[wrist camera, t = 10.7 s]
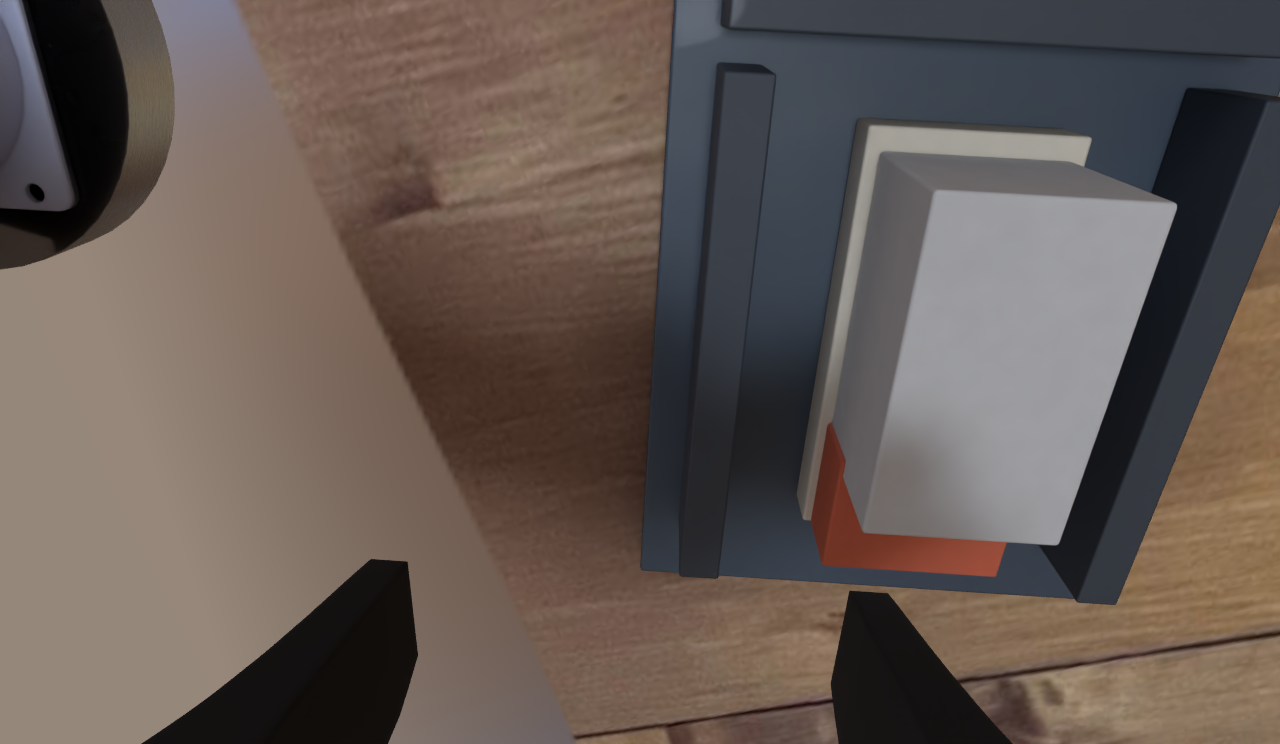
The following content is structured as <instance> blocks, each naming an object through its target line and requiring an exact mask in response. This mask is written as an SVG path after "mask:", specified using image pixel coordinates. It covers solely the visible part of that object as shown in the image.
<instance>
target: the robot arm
mask: <svg viewBox="0 0 1280 744" xmlns="http://www.w3.org/2000/svg"><path fill="white" fill-rule="evenodd" d="M36 185H38V186H39V187H40V188H42V190H43V192H44V198H43V197H42V196H40V195H39V194H38V192H37V190H36ZM78 201H79V191H78V187H77V183H76V179H75V176H74V172H73V168H72V165H71V161H70V157H69V153H68V150H67V146H66V142H65V138H64V135H63V131H62V127H61V124H60V120H59V116H58V112H57V109H56V105H55V101H54V97H53V94H52V90H51V86H50V83H49V79H48V75H47V71H46V68H45V64H44V60H43V56H42V53H41V49H40V45H39V41H38V38H37V34H36V30H35V27H34V23H33V19H32V15H31V12H30V8H29V4H28V0H0V208H9V209H26V210H44V211H65V210H68V209H71V208H73V207H75V206H76V205H77V204H78ZM417 657H418V651H417V642H416V633H415V624H414V617H413V607H412V598H411V589H410V580H409V571H408V562H405V561H390V560H375V559H371V560H369V561H368V562H367V563H366V564H365V565H364V566H362V567H361V568H360V569H359V570H358V571H357V572H356V573H355V574H353V575H352V576H351V577H350V578H349V579H348V580H347V581H345V582H344V583H343V584H342V585H341V586H340V587H339V588H338V589H337V590H336V591H334V592H333V593H332V594H331V595H330V596H329V597H328V598H327V599H326V600H325V601H323V602H322V604H320V605H319V606H318V607H317V608H316V609H314V610H313V611H312V612H311V613H310V614H309V615H308V616H307V617H306V618H304V619H303V620H302V621H301V622H300V623H299V624H298V625H296V626H295V627H294V628H293V629H292V630H291V631H289V632H288V633H287V634H286V635H285V636H284V637H282V638H281V639H280V640H279V641H278V642H277V643H276V644H274V645H273V646H272V647H271V648H270V649H269V650H267V651H266V652H265V653H264V654H263V655H261V656H260V657H259V658H258V659H256V660H255V661H254V662H253V663H251V664H250V665H249V666H248V667H246V668H245V669H244V670H243V671H241V672H240V673H239V674H237V675H236V676H235V677H234V678H233V679H231V680H230V681H229V682H227V683H226V684H225V685H224V686H222V687H221V688H220V689H219V690H217V691H216V692H215V693H213V694H212V695H211V696H210V697H208V698H207V699H205V700H204V701H203V702H201V703H200V704H199V705H197V706H196V707H194V708H193V709H192V710H190V711H189V712H187V713H186V714H185V715H183V716H182V717H180V718H179V719H177V720H176V721H175V722H173V723H171V724H170V725H169V726H167V727H166V728H164V729H163V730H161V731H160V732H158V733H157V734H155V735H154V736H152V737H151V738H150V739H148V740H146V741H145V742H143V743H142V744H388V742H389V740H390V737H391V735H392V733H393V730H394V728H395V725H396V723H397V721H398V718H399V716H400V713H401V710H402V707H403V704H404V700H405V697H406V694H407V691H408V688H409V684H410V681H411V677H412V674H413V670H414V667H415V663H416V660H417ZM831 690H832V698H833V706H834V713H835V721H836V728H837V734H838V741H839V744H1012V743H1011V742H1010V741H1009V739H1008V738H1007V737H1006V736H1005V735H1004V734H1003V733H1002V732H1001V731H1000V730H999V729H998V728H997V726H996V725H995V724H994V723H993V722H992V721H991V720H990V719H989V717H988V716H987V715H986V714H985V713H984V712H983V711H982V710H981V708H980V707H979V706H978V705H977V704H976V702H975V701H974V700H973V699H972V698H971V697H970V695H969V694H968V693H967V692H966V691H965V689H964V688H963V687H962V686H961V685H960V684H959V682H958V681H957V680H956V679H955V678H954V676H953V675H952V674H951V673H950V672H949V670H948V669H947V668H946V667H945V665H944V664H943V663H942V662H941V660H940V659H939V658H938V657H937V655H936V654H935V653H934V652H933V650H932V649H931V648H930V647H929V645H928V644H927V643H926V641H925V640H924V639H923V638H922V636H921V635H920V634H919V632H918V631H917V630H916V629H915V627H914V626H913V625H912V623H911V622H910V621H909V619H908V618H907V617H906V616H905V614H904V613H903V612H902V610H901V609H900V608H899V606H898V605H897V604H896V603H895V601H894V600H893V599H892V598H891V597H890V595H889V594H888V593H875V592H859V591H850V592H849V596H848V601H847V606H846V611H845V616H844V621H843V626H842V631H841V636H840V641H839V646H838V651H837V655H836V660H835V665H834V670H833V675H832V680H831Z"/></svg>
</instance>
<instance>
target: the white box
mask: <svg viewBox="0 0 1280 744" xmlns="http://www.w3.org/2000/svg"><path fill="white" fill-rule="evenodd" d="M1091 141H1092V138H1091V137H1089V136H1086V135H1083V134H1080V133H1077V132H1074V131H1070V130H1067V129H1057V128H1038V127H1020V126H1002V125H984V124H965V123H947V122H929V121H910V120H892V119H874V118H860V119H858V121H857V126H856V132H855V138H854V144H853V150H852V156H851V163H850V169H849V175H848V181H847V187H846V193H845V199H844V206H843V212H842V218H841V224H840V230H839V236H838V243H837V249H836V255H835V261H834V267H833V273H832V279H831V286H830V292H829V298H828V304H827V310H826V316H825V322H824V329H823V335H822V341H821V347H820V353H819V359H818V366H817V372H816V378H815V384H814V390H813V396H812V402H811V409H810V415H809V421H808V427H807V433H806V439H805V445H804V452H803V458H802V464H801V470H800V476H799V482H798V489H797V498H798V502H799V506H800V510H801V514H802V518H803V519H804V520H811V524H812V528H813V532H814V536H815V540H816V543H817V547H818V551H819V555H820V559H821V562H822V565H824V566H835V567H850V568H866V569H881V570H896V571H912V572H927V573H942V574H957V575H973V576H988V577H995V576H996V575H997V572H998V569H999V566H1000V562H1001V559H1002V556H1003V553H1004V550H1005V547H1006V543H1007V542H1009V543H1025V544H1040V545H1058V544H1059V542H1060V539H1061V537H1062V534H1063V531H1064V528H1065V525H1066V522H1067V520H1068V517H1069V514H1070V511H1071V508H1072V505H1073V502H1074V500H1075V497H1076V494H1077V491H1078V488H1079V485H1080V483H1081V480H1082V477H1083V474H1084V471H1085V468H1086V466H1087V463H1088V460H1089V457H1090V454H1091V451H1092V448H1093V446H1094V443H1095V440H1096V437H1097V434H1098V431H1099V429H1100V426H1101V423H1102V420H1103V417H1104V414H1105V412H1106V409H1107V406H1108V403H1109V400H1110V397H1111V395H1112V392H1113V389H1114V386H1115V383H1116V380H1117V377H1118V375H1119V372H1120V369H1121V366H1122V363H1123V360H1124V358H1125V355H1126V352H1127V349H1128V346H1129V343H1130V341H1131V338H1132V335H1133V332H1134V329H1135V326H1136V323H1137V321H1138V318H1139V315H1140V312H1141V309H1142V306H1143V304H1144V301H1145V298H1146V295H1147V292H1148V289H1149V287H1150V284H1151V281H1152V278H1153V275H1154V272H1155V269H1156V267H1157V264H1158V261H1159V258H1160V255H1161V252H1162V250H1163V247H1164V244H1165V241H1166V238H1167V235H1168V233H1169V230H1170V227H1171V224H1172V221H1173V218H1174V216H1175V213H1176V210H1177V204H1176V203H1174V202H1172V201H1169V200H1167V199H1164V198H1162V197H1159V196H1157V195H1154V194H1152V193H1149V192H1146V191H1144V190H1141V189H1139V188H1136V187H1134V186H1131V185H1129V184H1126V183H1124V182H1121V181H1118V180H1116V179H1113V178H1111V177H1108V176H1106V175H1103V174H1101V173H1098V172H1096V171H1093V170H1090V169H1088V168H1085V167H1084V165H1085V162H1086V158H1087V155H1088V152H1089V148H1090V145H1091Z"/></svg>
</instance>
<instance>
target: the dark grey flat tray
mask: <svg viewBox="0 0 1280 744" xmlns="http://www.w3.org/2000/svg"><path fill="white" fill-rule="evenodd" d="M1279 92H1280V0H674V13H673V30H672V47H671V63H670V80H669V97H668V113H667V130H666V147H665V163H664V180H663V197H662V213H661V230H660V247H659V264H658V280H657V297H656V314H655V330H654V347H653V364H652V380H651V397H650V414H649V430H648V447H647V464H646V480H645V497H644V514H643V530H642V547H641V564H640V568H641V570H643V571H659V572H674V573H679V575H680V576H683V577H698V578H713V579H717V578H718V576H735V577H750V578H765V579H780V580H795V581H810V582H826V583H841V584H856V585H871V586H886V587H902V588H917V589H932V590H947V591H962V592H978V593H993V594H1008V595H1023V596H1038V597H1054V598H1069V599H1075V600H1076V601H1077V602H1079V603H1093V604H1108V605H1115V604H1116V603H1117V601H1118V599H1119V596H1120V594H1121V591H1122V589H1123V586H1124V584H1125V581H1126V579H1127V577H1128V574H1129V572H1130V569H1131V567H1132V564H1133V562H1134V559H1135V557H1136V555H1137V552H1138V550H1139V547H1140V545H1141V542H1142V540H1143V537H1144V535H1145V533H1146V530H1147V528H1148V525H1149V523H1150V520H1151V518H1152V515H1153V513H1154V511H1155V508H1156V506H1157V503H1158V501H1159V498H1160V496H1161V494H1162V491H1163V489H1164V486H1165V484H1166V481H1167V479H1168V476H1169V474H1170V472H1171V469H1172V467H1173V464H1174V462H1175V459H1176V457H1177V454H1178V452H1179V450H1180V447H1181V445H1182V442H1183V440H1184V437H1185V435H1186V432H1187V430H1188V428H1189V425H1190V423H1191V420H1192V418H1193V415H1194V413H1195V410H1196V408H1197V406H1198V403H1199V401H1200V398H1201V396H1202V393H1203V391H1204V389H1205V386H1206V384H1207V381H1208V379H1209V376H1210V374H1211V371H1212V369H1213V367H1214V364H1215V362H1216V359H1217V357H1218V354H1219V352H1220V349H1221V347H1222V345H1223V342H1224V340H1225V337H1226V335H1227V332H1228V330H1229V327H1230V325H1231V323H1232V320H1233V318H1234V315H1235V313H1236V310H1237V308H1238V305H1239V303H1240V301H1241V298H1242V296H1243V293H1244V291H1245V288H1246V286H1247V284H1248V281H1249V279H1250V276H1251V274H1252V271H1253V269H1254V266H1255V264H1256V262H1257V259H1258V257H1259V254H1260V252H1261V249H1262V247H1263V244H1264V242H1265V240H1266V237H1267V235H1268V232H1269V230H1270V227H1271V225H1272V222H1273V220H1274V218H1275V215H1276V213H1277V210H1278V208H1279V205H1280V97H1278V95H1279ZM860 118H874V119H892V120H910V121H929V122H947V123H965V124H984V125H1002V126H1020V127H1038V128H1057V129H1067V130H1070V131H1074V132H1077V133H1080V134H1083V135H1086V136H1089V137H1091V138H1092V141H1091V145H1090V148H1089V152H1088V155H1087V158H1086V162H1085V165H1084V167H1085V168H1088V169H1090V170H1093V171H1096V172H1098V173H1101V174H1103V175H1106V176H1108V177H1111V178H1113V179H1116V180H1118V181H1121V182H1124V183H1126V184H1129V185H1131V186H1134V187H1136V188H1139V189H1141V190H1144V191H1146V192H1149V193H1152V194H1154V195H1157V196H1159V197H1162V198H1164V199H1167V200H1169V201H1172V202H1174V203H1176V204H1177V210H1176V213H1175V216H1174V218H1173V221H1172V224H1171V227H1170V230H1169V233H1168V235H1167V238H1166V241H1165V244H1164V247H1163V250H1162V252H1161V255H1160V258H1159V261H1158V264H1157V267H1156V269H1155V272H1154V275H1153V278H1152V281H1151V284H1150V287H1149V289H1148V292H1147V295H1146V298H1145V301H1144V304H1143V306H1142V309H1141V312H1140V315H1139V318H1138V321H1137V323H1136V326H1135V329H1134V332H1133V335H1132V338H1131V341H1130V343H1129V346H1128V349H1127V352H1126V355H1125V358H1124V360H1123V363H1122V366H1121V369H1120V372H1119V375H1118V377H1117V380H1116V383H1115V386H1114V389H1113V392H1112V395H1111V397H1110V400H1109V403H1108V406H1107V409H1106V412H1105V414H1104V417H1103V420H1102V423H1101V426H1100V429H1099V431H1098V434H1097V437H1096V440H1095V443H1094V446H1093V448H1092V451H1091V454H1090V457H1089V460H1088V463H1087V466H1086V468H1085V471H1084V474H1083V477H1082V480H1081V483H1080V485H1079V488H1078V491H1077V494H1076V497H1075V500H1074V502H1073V505H1072V508H1071V511H1070V514H1069V517H1068V520H1067V522H1066V525H1065V528H1064V531H1063V534H1062V537H1061V539H1060V542H1059V544H1058V545H1040V544H1025V543H1009V542H1007V543H1006V547H1005V550H1004V553H1003V556H1002V559H1001V562H1000V566H999V569H998V572H997V575H996V576H995V577H988V576H973V575H957V574H942V573H927V572H912V571H896V570H881V569H866V568H850V567H835V566H824V565H822V562H821V559H820V555H819V551H818V547H817V543H816V540H815V536H814V532H813V528H812V524H811V520H804V519H803V518H802V514H801V510H800V506H799V502H798V498H797V489H798V482H799V476H800V470H801V464H802V458H803V452H804V445H805V439H806V433H807V427H808V421H809V415H810V409H811V402H812V396H813V390H814V384H815V378H816V372H817V366H818V359H819V353H820V347H821V341H822V335H823V329H824V322H825V316H826V310H827V304H828V298H829V292H830V286H831V279H832V273H833V267H834V261H835V255H836V249H837V243H838V236H839V230H840V224H841V218H842V212H843V206H844V199H845V193H846V187H847V181H848V175H849V169H850V163H851V156H852V150H853V144H854V138H855V132H856V126H857V121H858V119H860Z"/></svg>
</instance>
